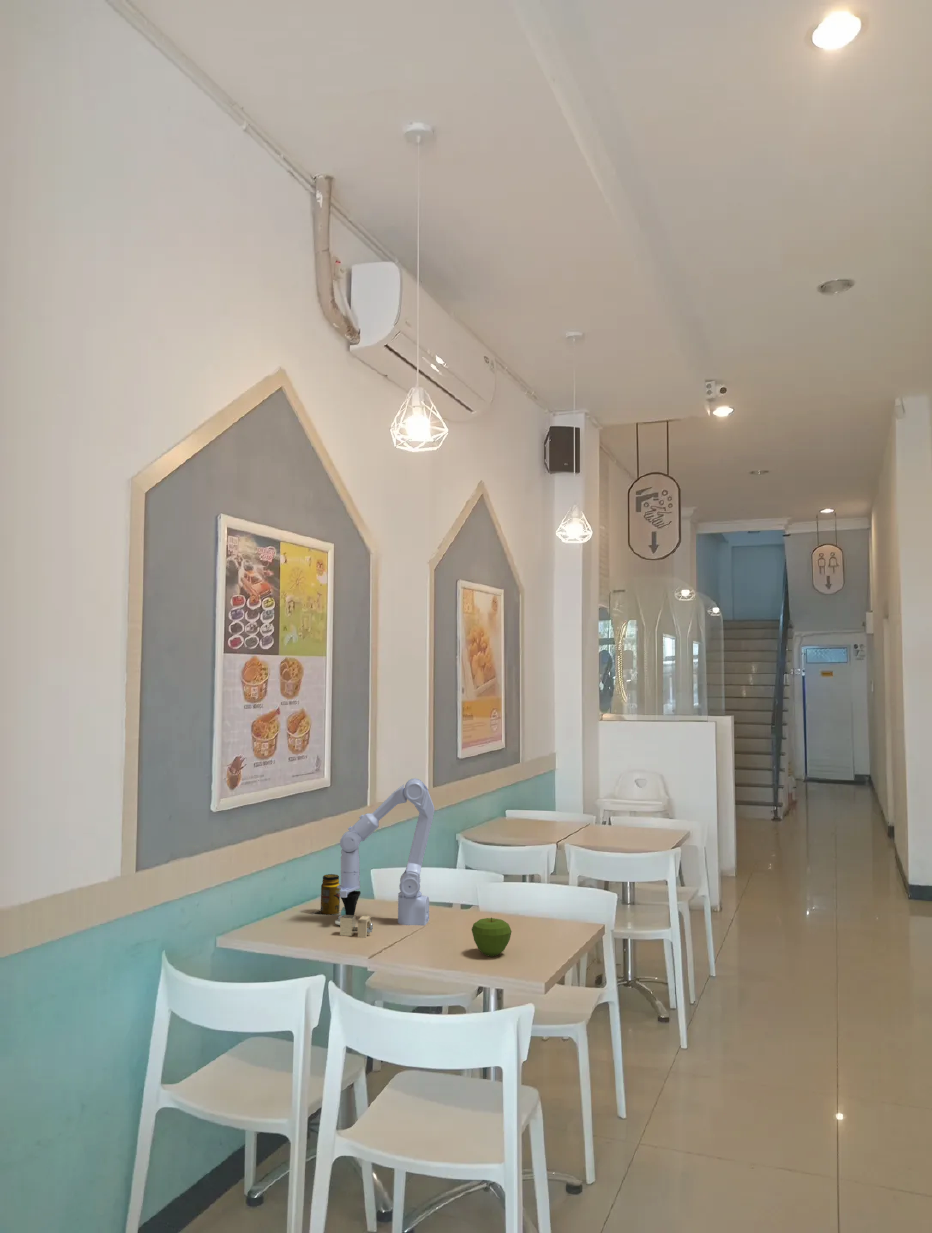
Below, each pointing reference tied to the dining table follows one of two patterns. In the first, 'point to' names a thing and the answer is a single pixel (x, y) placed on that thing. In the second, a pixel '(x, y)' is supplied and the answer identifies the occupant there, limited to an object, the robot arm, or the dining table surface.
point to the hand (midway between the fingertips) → (350, 916)
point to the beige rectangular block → (350, 925)
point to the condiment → (330, 895)
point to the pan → (343, 912)
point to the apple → (491, 935)
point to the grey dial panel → (363, 926)
